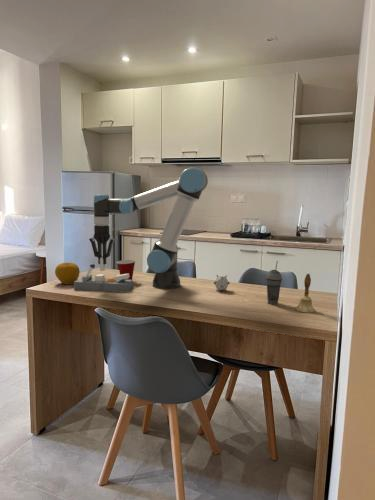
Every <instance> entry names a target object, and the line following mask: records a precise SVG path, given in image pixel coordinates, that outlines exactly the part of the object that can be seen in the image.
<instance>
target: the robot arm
mask: <svg viewBox="0 0 375 500" xmlns="http://www.w3.org/2000/svg"><path fill="white" fill-rule="evenodd" d="M208 183H209V181H208V176H207V174H206V173H205V172H204V171H203V170H202V169H200V168H199V167H194V166H193V167H192V166H191V167H188V168H186V169H184V170H183V171H182V172H181V174H180V176H179V178H178V180H176V181H173V182H169V183H167V184H165V185H162V186H158V187H157V188H156V187H155V188H153V189H151V190H148V191H144V192H142V193H139V194H137V195H134V196H131V197H128V198H110V195H109V194H94V195H93V224H94V226H93V227H94V228H93V231H94V233H93V236H92V237H91V238H89V239H88V240H89V241H90V243H91V247H92V248H91V249H92V252H93V255H94V257H96V258H97V261H98V262H97V263H98V265H99V271H100V272H103V271H104V272H105V270H106V267H105V266H106V264H107V258H109V257H110V256H111V253H112V248H113V244H114V242H115V240H116V239H115V238H112V237H111V234H110V214H116V215H117V214H119V215H129V214H132V213H134V212H136V211H139V210H142V209H145V208H148V207H151V206H153V205H156V204H160V203H162V202H165V201H168V200H171V199H173V198H176V199H175V201H174V204H173V206H172V208H171V211H170V214H169V215H168V216H169V217H168V218H167V221H166V223H165V225H164V228H163V230H162V233H161V236H160V237H159V239H158V240H156V241H155V242H154V244H153V247H152V250H151V251H150V252H149V253H148V255H147V257H146V264H147V266H148V268H149V269H150V270H151V271H152V272H154V276H153V280H152V287H153V288H157V289H166V290H167V289H175V288H178V287H179V288H180V286H181V279H180V276H179V273H178V251H179V249H178V245H177V244H178V242H179V239H180V237H181V234H182V232H183V230H184V228H185V225H186V222H187V219H188V217H189V215H190V212H191V211H192V208H193V206H194V204H195V203H196V202H197V201H199V199H200V197H201V195H202V192H203V191H204V190H205V189H206V188H207V185H208ZM96 243H97V244H96ZM107 244H108V246H107Z"/></svg>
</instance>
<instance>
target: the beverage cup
mask: <svg viewBox="0 0 375 500" xmlns="http://www.w3.org/2000/svg"><path fill="white" fill-rule="evenodd" d="M278 262H279V261H278V260H276V264H275V269H271V270H269V271H268V272H266V273H267V274H266V275H265V282H266V296H267V297H266V299H267V304H268V305H271V306H272V305H273V306H274V305H275V306H276V305H278V304H279V298H280V293H281V292H280V291H281V284H282V281H283V276H282V273H281V272H280V271H278V270H277V267H278V264H279V263H278Z"/></svg>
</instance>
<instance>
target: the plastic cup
mask: <svg viewBox="0 0 375 500" xmlns="http://www.w3.org/2000/svg"><path fill="white" fill-rule="evenodd" d="M116 264H117V266H118V271H119V275H122V274H127V273H129V276H130V277H129V278H128V279H125V280H133V276H134V270H135V264H136V259H123V260H118V261H116Z"/></svg>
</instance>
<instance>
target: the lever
mask: <svg viewBox="0 0 375 500" xmlns="http://www.w3.org/2000/svg"><path fill="white" fill-rule="evenodd" d="M95 268H96V265H95V264H94V263H91V264H89V268H88V271H87V273H86V275H85V277H87V280H88V279H90V276H91V274H92V273H93V271H94V269H95Z"/></svg>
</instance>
